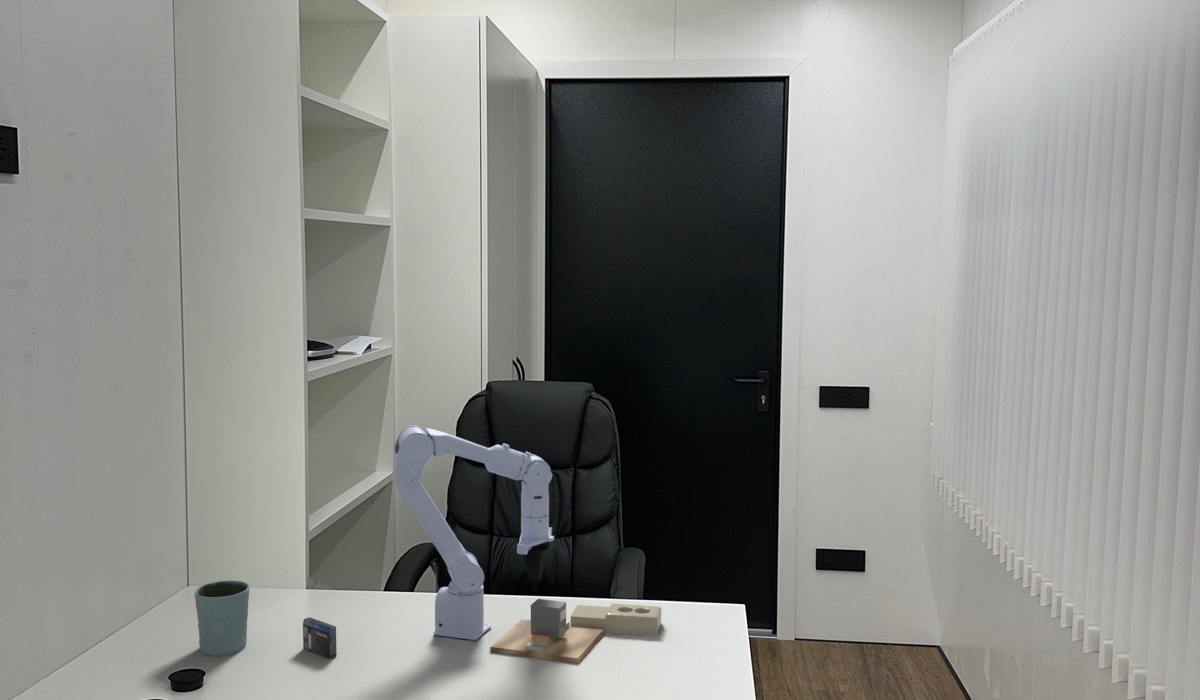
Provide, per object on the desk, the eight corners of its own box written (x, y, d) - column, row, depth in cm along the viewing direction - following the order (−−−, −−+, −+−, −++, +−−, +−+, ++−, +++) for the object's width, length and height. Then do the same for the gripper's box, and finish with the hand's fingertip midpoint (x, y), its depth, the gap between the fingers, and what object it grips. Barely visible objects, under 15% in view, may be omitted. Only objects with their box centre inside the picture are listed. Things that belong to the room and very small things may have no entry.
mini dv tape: (303, 649, 200) (302, 619, 199) (309, 646, 201) (309, 617, 200) (330, 659, 195) (329, 628, 194) (336, 656, 196) (335, 626, 195)
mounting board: (490, 651, 199) (490, 646, 198) (521, 623, 214) (521, 619, 214) (577, 663, 193) (577, 658, 193) (603, 634, 208) (603, 629, 208)
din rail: (525, 650, 197) (525, 640, 197) (553, 624, 211) (553, 614, 211) (542, 652, 196) (542, 642, 195) (569, 626, 210) (569, 616, 210)
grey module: (530, 634, 202) (530, 605, 202) (538, 627, 206) (538, 598, 205) (559, 638, 200) (559, 608, 200) (566, 631, 204) (566, 602, 204)
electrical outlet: (577, 600, 218) (661, 606, 214) (577, 619, 218) (661, 625, 215) (570, 611, 210) (657, 617, 207) (570, 631, 211) (657, 637, 208)
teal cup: (230, 634, 207) (229, 576, 206) (262, 645, 201) (260, 586, 200) (185, 650, 199) (183, 589, 197) (216, 662, 193) (214, 600, 192)
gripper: (540, 525, 203) (540, 591, 204) (565, 508, 216) (565, 571, 218) (507, 522, 205) (507, 588, 206) (534, 505, 219) (534, 567, 220)
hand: (535, 579), depth 212 cm, fingers closed
